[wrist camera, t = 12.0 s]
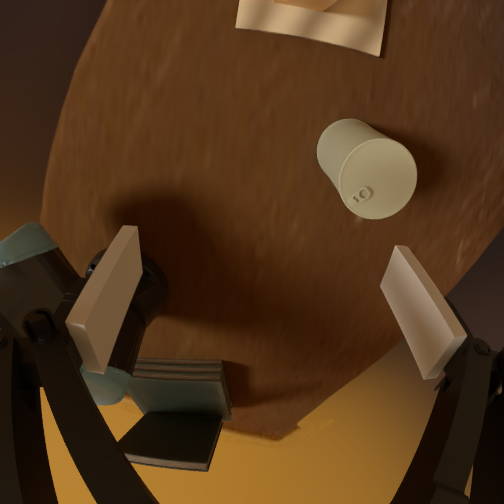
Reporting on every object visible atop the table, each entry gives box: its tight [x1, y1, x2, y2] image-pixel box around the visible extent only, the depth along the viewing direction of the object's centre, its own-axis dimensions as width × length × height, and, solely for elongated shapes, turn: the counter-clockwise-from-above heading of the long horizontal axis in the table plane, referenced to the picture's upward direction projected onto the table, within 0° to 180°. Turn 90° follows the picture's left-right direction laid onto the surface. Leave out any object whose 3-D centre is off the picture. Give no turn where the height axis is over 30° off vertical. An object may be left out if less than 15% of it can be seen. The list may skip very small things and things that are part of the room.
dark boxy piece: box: [117, 357, 232, 472], centre depth 58 cm, size 23×20×25 cm
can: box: [317, 119, 417, 219], centre depth 34 cm, size 9×9×12 cm
